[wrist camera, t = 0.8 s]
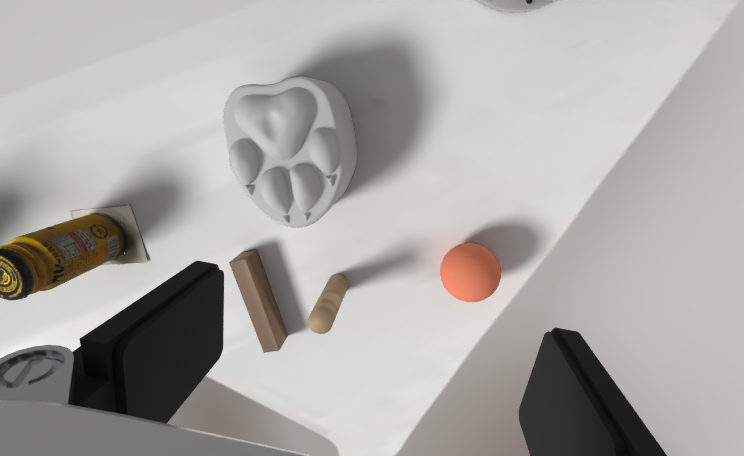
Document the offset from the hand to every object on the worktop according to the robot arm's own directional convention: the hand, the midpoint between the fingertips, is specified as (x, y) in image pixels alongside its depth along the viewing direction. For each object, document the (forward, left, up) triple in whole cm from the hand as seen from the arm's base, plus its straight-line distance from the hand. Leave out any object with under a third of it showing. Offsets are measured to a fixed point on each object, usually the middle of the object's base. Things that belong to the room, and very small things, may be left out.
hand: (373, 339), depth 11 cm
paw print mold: (+7, -8, -30) cm, 32 cm away
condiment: (+34, -16, -30) cm, 48 cm away
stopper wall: (+23, +1, -30) cm, 38 cm away
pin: (+15, +5, -30) cm, 33 cm away
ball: (+1, +12, -27) cm, 29 cm away
